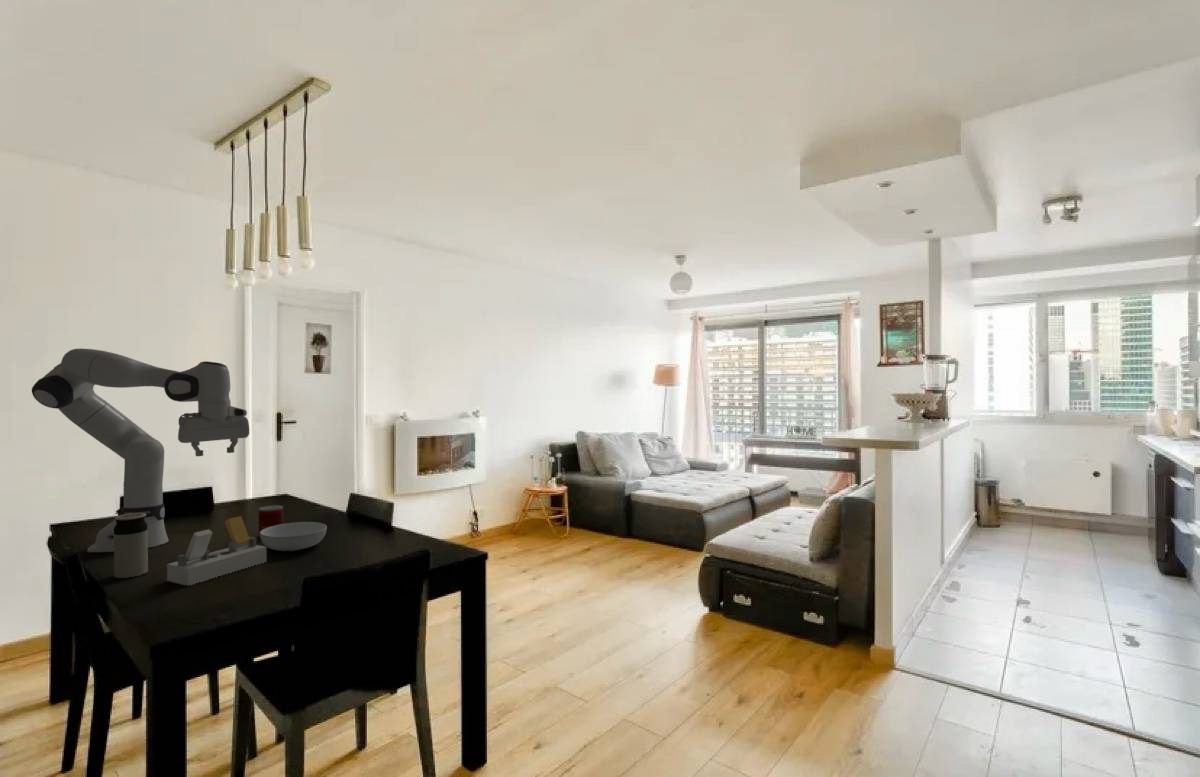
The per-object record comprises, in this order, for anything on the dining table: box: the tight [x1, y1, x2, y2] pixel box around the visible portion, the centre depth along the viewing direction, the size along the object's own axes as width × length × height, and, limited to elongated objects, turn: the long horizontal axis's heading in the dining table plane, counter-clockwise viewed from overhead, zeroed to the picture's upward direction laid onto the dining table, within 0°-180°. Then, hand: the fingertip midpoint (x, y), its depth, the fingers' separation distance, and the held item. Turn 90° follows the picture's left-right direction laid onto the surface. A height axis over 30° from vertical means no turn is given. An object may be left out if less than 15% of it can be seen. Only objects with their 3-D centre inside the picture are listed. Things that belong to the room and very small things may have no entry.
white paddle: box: [185, 529, 213, 562], centre depth 173 cm, size 2×5×10 cm
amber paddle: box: [224, 515, 251, 548], centre depth 188 cm, size 2×5×10 cm, turn 155°
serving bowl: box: [259, 521, 328, 552], centre depth 206 cm, size 21×21×7 cm
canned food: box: [258, 504, 284, 538], centre depth 221 cm, size 8×8×11 cm
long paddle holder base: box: [166, 536, 267, 587], centre depth 180 cm, size 10×24×8 cm, turn 156°
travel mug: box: [113, 513, 149, 579], centre depth 177 cm, size 8×8×18 cm
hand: (215, 454), depth 189 cm, fingers open, 8 cm apart
